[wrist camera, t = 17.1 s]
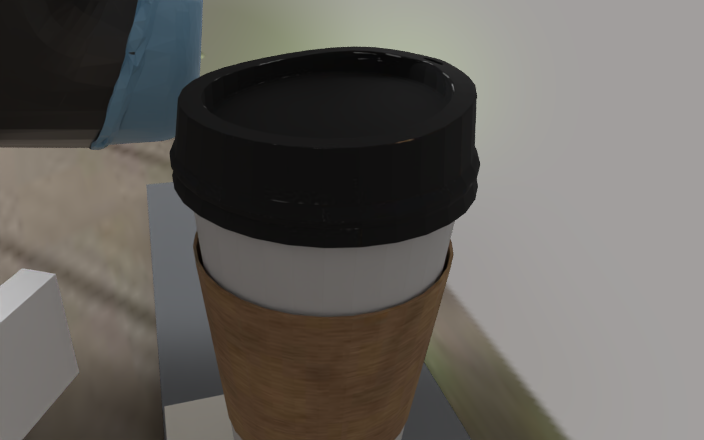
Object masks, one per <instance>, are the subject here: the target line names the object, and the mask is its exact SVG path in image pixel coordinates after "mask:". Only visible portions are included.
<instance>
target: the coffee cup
mask: <svg viewBox="0 0 704 440" xmlns="http://www.w3.org/2000/svg"><path fill="white" fill-rule="evenodd" d="M476 99H477V93H476V88H475V84H474V83H473V82H472V80H471V79H470V78H469V77H468V76H467V75H466V74H465V73H463V72H462V71H460V70H459V69H457V68H456V67H454V66H452V65H451V64H449V63H447V62H445V61H442V60H439V59H436V58H432V57H428V56H424V55H419V54H414V53H410V52H405V51H399V50H393V49H384V48H376V47H337V48H325V49H316V50H307V51H301V52H294V53H287V54H282V55H277V56H271V57H266V58H261V59H257V60H252V61H248V62H243V63H239V64H236V65H232V66H228V67H224V68H221V69H218V70H215V71H213V72H210V73H207V74H205V75H203V76H201V77H199V78H197V79H194V80H192V81H191V82H190V83H189V84H188V85H186V86H185V87H184V88H183V89H182V91H181V93H180V95H179V97H178V104H177V118H176V132H175V140H174V143H173V145H172V148H171V150H170V161H171V167H172V169H173V174H172V177H173V184H174V189H175V191H176V192H177V194H178V196H179V197H180V199H181V200H182V202H183V203H184V204H185V205H186V206H188V207H189V208H190V209H191V210H192V211H194V216H195V221H196V227H197V232H196V233H195V238H194V243H193V251H194V257H195V262H196V267H197V272H198V276H199V281H200V286H201V290H202V295H203V300H204V304H205V309H206V314H207V318H208V323H209V327H210V332H211V337H212V341H213V346H214V351H215V355H216V360H217V365H218V369H219V374H220V379H221V383H222V388H223V393H224V397H225V402H226V407H227V411H228V416H229V419H230V421H231V426H232V431H233V437H234V440H401V439H402V435H403V431H404V426H405V424H406V422H407V419H408V416H409V412H410V409H411V405H412V402H413V398H414V395H415V391H416V388H417V384H418V381H419V377H420V373H421V370H422V366H423V363H424V359H425V356H426V352H427V349H428V345H429V342H430V338H431V335H432V331H433V328H434V324H435V321H436V317H437V313H438V310H439V306H440V303H441V299H442V296H443V292H444V289H445V285H446V282H447V278H448V274H449V271H450V267H451V262H452V259H453V248H452V242H451V239H450V238H451V234H452V230H453V226H454V222H455V220H456V219H458V218H459V217H460V216H462V215H463V214H464V213H466V211H467V210H468V209H469V207H470V206H471V204H472V203H473V201H474V200H475V198H476V192H477V188H478V184H477V175H478V171H479V167H480V161H479V157H478V153H477V150H476V148H475V123H476Z"/></svg>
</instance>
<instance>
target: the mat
mask: <svg viewBox="0 0 704 440" xmlns="http://www.w3.org/2000/svg"><path fill="white" fill-rule="evenodd" d="M147 199H148V213H149V227H150V241H151V255H152V270H153V284H154V298H155V312H156V326H157V340H158V354H159V369H160V383H161V397H162V411H163V425H164V439H165V440H234V437H233V431H232V426H231V421H230V419H229V416H228V411H227V407H226V402H225V397H224V393H223V388H222V383H221V379H220V374H219V369H218V365H217V360H216V355H215V351H214V346H213V341H212V337H211V332H210V327H209V323H208V318H207V314H206V309H205V304H204V300H203V295H202V290H201V286H200V281H199V276H198V272H197V267H196V262H195V257H194V251H193V243H194V238H195V233H196V232H197V227H196V221H195V216H194V211H192V210H191V209H190V208H189V207H188V206H186V205H185V204H184V203H183V202H182V200H181V199H180V197H179V196H178V194H177V192H176V191H175V189H174V184H173V182H170V183H159V184H148V185H147ZM401 440H471V438H470V436H469V435H468V433H467V432H466V430H465V428H464V427H463V425H462V423H461V422H460V420H459V419H458V417H457V415H456V414H455V412H454V410H453V409H452V407H451V405H450V404H449V402H448V401H447V399H446V397H445V396H444V394H443V392H442V391H441V389H440V387H439V386H438V384H437V383H436V381H435V379H434V378H433V376H432V374H431V373H430V371H429V370H428V368H427V366H426V365H425V363H423V366H422V370H421V373H420V377H419V381H418V384H417V388H416V391H415V395H414V398H413V402H412V405H411V409H410V412H409V416H408V419H407V422H406V424H405V426H404V431H403V435H402V439H401Z"/></svg>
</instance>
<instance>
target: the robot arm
mask: <svg viewBox="0 0 704 440" xmlns="http://www.w3.org/2000/svg"><path fill="white" fill-rule="evenodd" d="M202 7H203V0H0V147H29V148H90V149H91V150H100V149H103V148H105V147H107V146H108V145H111V144H126V143H140V142H155V141H164V140H168V139H171V138H174V137H175V132H176V118H177V104H178V97H179V95H180V93H181V91H182V89H183V88H184V87H185V86H186V85H188V84H189V83H190V82H191V81H192V80H194V79H197V78H199V77H200V60H201V36H202ZM78 374H79V369H78V365H77V361H76V357H75V352H74V348H73V344H72V340H71V336H70V332H69V327H68V323H67V319H66V315H65V311H64V307H63V302H62V298H61V294H60V290H59V286H58V282H57V277H56V274H53V273H47V272H41V271H35V270H30V269H24V268H22V269H21V270H20V271H18V272H17V273H16V274H15V275H13V276H12V277H11V278H10V279H8V280H7V281H6V282H5V283H3V284H2V285H1V286H0V440H23V438H24V437H25V436H26V435H27V434H28V432H29V431H30V430H31V429H32V428H33V427H34V425H35V424H36V423H37V422H38V421H39V420H40V418H41V417H42V416H43V415H44V414H45V412H46V411H47V410H48V409H49V408H50V407H51V405H52V404H53V403H54V402H55V401H56V400H57V398H58V397H59V396H60V395H61V394H62V392H63V391H64V390H65V389H66V388H67V387H68V385H69V384H70V383H71V382H72V381H73V380H74V378H75V377H76V376H77V375H78Z"/></svg>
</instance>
